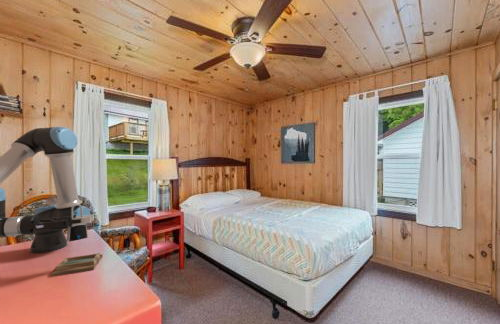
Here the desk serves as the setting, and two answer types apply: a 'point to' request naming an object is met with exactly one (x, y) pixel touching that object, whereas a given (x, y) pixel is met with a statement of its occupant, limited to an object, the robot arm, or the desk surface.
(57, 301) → the desk surface
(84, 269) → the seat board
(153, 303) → the desk surface
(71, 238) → the padlock
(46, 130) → the robot arm
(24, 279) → the desk surface
